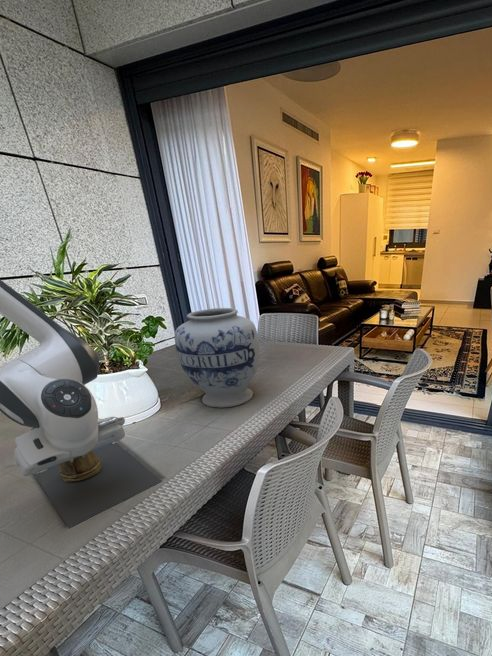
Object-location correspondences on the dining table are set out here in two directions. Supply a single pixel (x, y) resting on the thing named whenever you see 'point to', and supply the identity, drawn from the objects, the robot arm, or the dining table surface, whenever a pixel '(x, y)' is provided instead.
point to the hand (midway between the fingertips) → (76, 457)
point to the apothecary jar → (219, 355)
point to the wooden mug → (80, 468)
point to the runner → (97, 485)
